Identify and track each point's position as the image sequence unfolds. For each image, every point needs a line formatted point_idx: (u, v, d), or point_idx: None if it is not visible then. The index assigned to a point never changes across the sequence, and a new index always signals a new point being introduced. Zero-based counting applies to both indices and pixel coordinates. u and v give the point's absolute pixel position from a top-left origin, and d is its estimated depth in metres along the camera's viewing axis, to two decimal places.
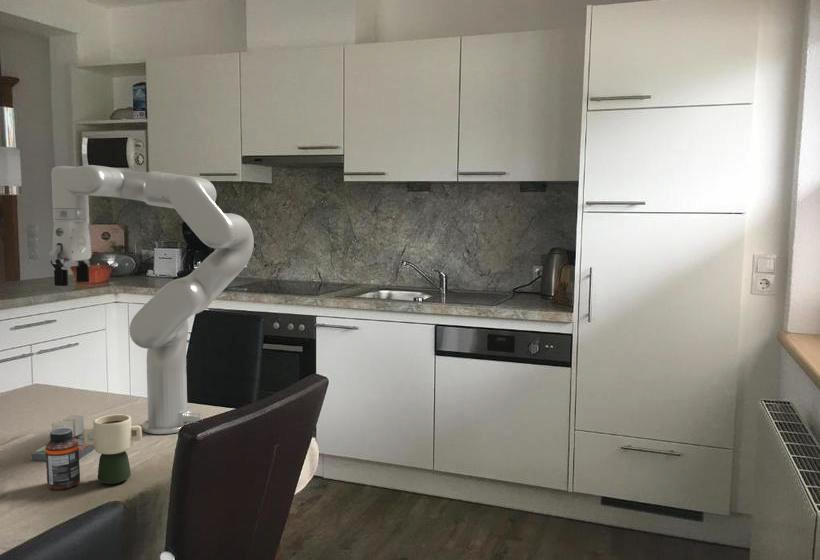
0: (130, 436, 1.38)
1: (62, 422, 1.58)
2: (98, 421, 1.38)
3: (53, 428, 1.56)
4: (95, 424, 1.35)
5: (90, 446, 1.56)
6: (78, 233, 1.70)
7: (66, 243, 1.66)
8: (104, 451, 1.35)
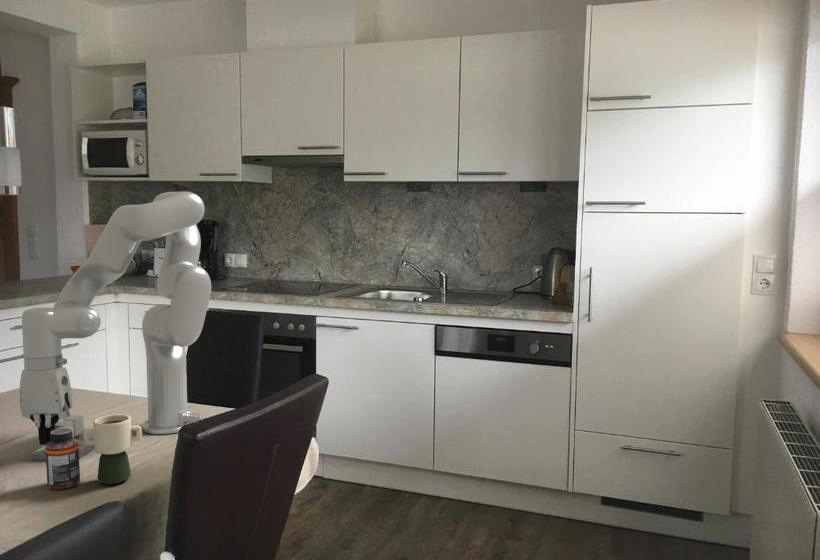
0: (130, 436, 1.38)
1: (62, 422, 1.58)
2: (98, 421, 1.38)
3: None
4: (95, 424, 1.35)
5: (90, 446, 1.56)
6: None
7: (70, 390, 1.54)
8: (104, 451, 1.35)
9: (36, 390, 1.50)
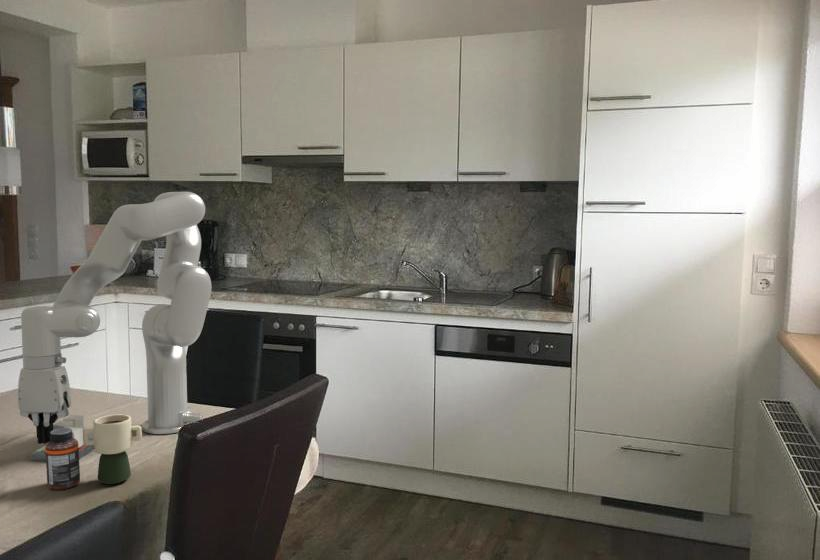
0: (130, 436, 1.38)
1: (62, 422, 1.58)
2: (98, 421, 1.38)
3: (53, 428, 1.56)
4: (95, 424, 1.35)
5: (90, 446, 1.56)
6: None
7: (69, 389, 1.53)
8: (104, 451, 1.35)
9: (34, 389, 1.50)
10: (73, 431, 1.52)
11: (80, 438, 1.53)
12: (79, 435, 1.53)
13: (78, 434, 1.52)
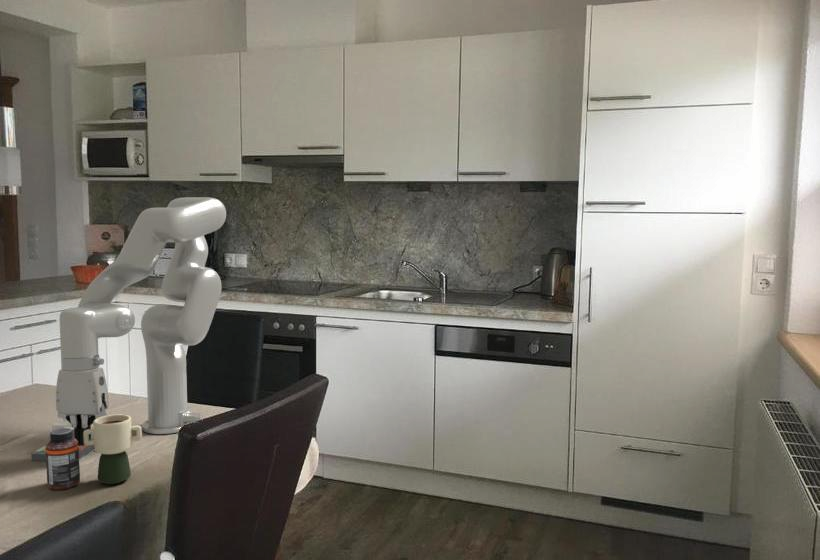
0: (130, 436, 1.38)
1: (62, 422, 1.58)
2: (98, 421, 1.38)
3: (53, 428, 1.56)
4: (95, 424, 1.35)
5: (90, 446, 1.56)
6: None
7: (106, 391, 1.53)
8: (104, 451, 1.35)
9: (73, 390, 1.49)
10: None
11: None
12: None
13: (73, 434, 1.53)
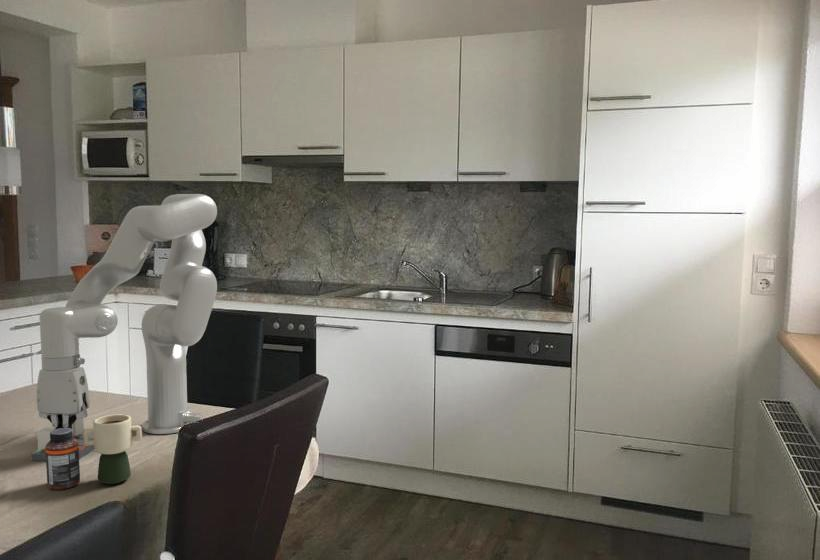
0: (130, 436, 1.38)
1: None
2: (98, 421, 1.38)
3: None
4: (95, 424, 1.35)
5: (90, 446, 1.56)
6: None
7: (87, 390, 1.53)
8: (104, 451, 1.35)
9: (53, 390, 1.49)
10: (49, 430, 1.52)
11: None
12: None
13: None
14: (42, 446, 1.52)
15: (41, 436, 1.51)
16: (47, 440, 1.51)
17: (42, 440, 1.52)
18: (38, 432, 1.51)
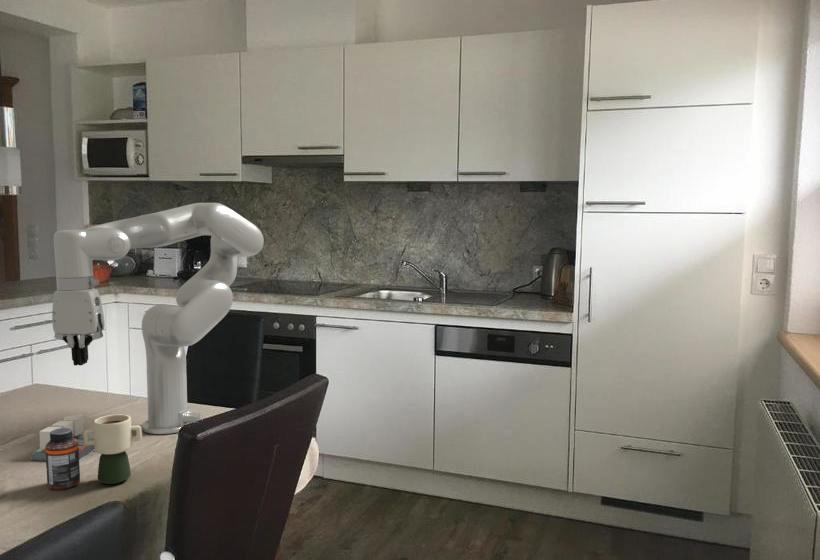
0: (130, 436, 1.38)
1: (62, 422, 1.58)
2: (98, 421, 1.38)
3: None
4: (95, 424, 1.35)
5: (90, 446, 1.56)
6: None
7: (102, 312, 1.56)
8: (104, 451, 1.35)
9: (69, 310, 1.51)
10: (51, 430, 1.52)
11: None
12: None
13: None
14: (44, 446, 1.52)
15: (43, 436, 1.51)
16: (49, 440, 1.51)
17: (44, 440, 1.51)
18: (40, 432, 1.51)
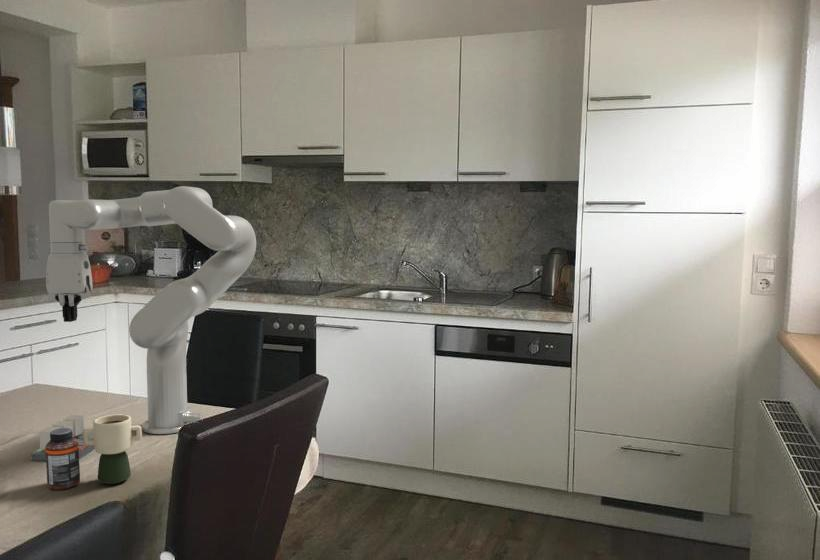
0: (130, 436, 1.38)
1: (62, 422, 1.58)
2: (98, 421, 1.38)
3: None
4: (95, 424, 1.35)
5: (90, 446, 1.56)
6: None
7: (91, 275, 1.74)
8: (104, 451, 1.35)
9: (61, 272, 1.70)
10: (51, 430, 1.52)
11: None
12: None
13: None
14: (44, 446, 1.52)
15: (43, 436, 1.51)
16: (49, 440, 1.51)
17: (44, 440, 1.51)
18: (40, 432, 1.51)
